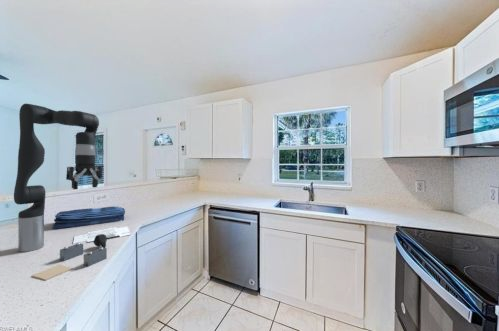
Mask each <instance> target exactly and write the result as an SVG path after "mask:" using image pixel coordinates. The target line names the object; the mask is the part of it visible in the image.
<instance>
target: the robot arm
mask: <svg viewBox="0 0 499 331" xmlns="http://www.w3.org/2000/svg"><path fill="white" fill-rule="evenodd" d="M18 115H19V144H18V155H17V174H16V180H15V185H14V189H13V201H14V203H15V204H16V205H28V204H29V205H30V204H32V205H30V206H29V207H27V208H24V209H23V210H21V211H19V212H18V216H17V217H18V220H17V221H18V227H17V228H18V230H17V232H18V233H17V234H18V235H17V236H18V240H17V243H18V250H17V251H18V252H19V253H24V252H25V253H26V252H31V251H32V252H33V251H35V250H39V249H42V248H43V247H44V245H45V207H46V206H45V204H46V189H45V187H44V185H41V184H38V185H28V183H29V180H30V178H31V177H32V176H33V175H34V174H35V173H36V172H37V171H38V170H39V169H40V167H42V165H43V164H44V162H45V153H46V151H45V150H46V149H45V148H44V146H43V143H41V140H39V138H38V137H37V135H36V133H35V127H34V124H37V125H52V124H58V125H63V126H69V127H73V126H74V127H80V128H85V130H84V131H77V133H76V134H75V149H74V165H75V166H67V167H66V175H65V176H66V177H65V179H66V180H67V181H71V189H73V190H78V189H79V181H78V180H79V179H80V178H81V177H82V176H84V177H85V176H89V177H91V178H92V179H91V180H92V184H91V186H92V188H98V186H99V184H98V183H99V180H100V179H102V178H103V173H102V172H103V171H102V170H103V168H102V166H98V165H97V166H96V146H95V145H96V144H95V143H96V142H95V141H96V140H95V138H96V134H97V132H98V128H99V125H100V121H99V120H100V119H99V118H98V116H97V115H96V114H92V113H88V112H85V111H81V110H64V109H63V110H54V109H51V108H48V107H46V106H40V105H36V104H31V103H24V104H22V105H21V106H20V108H19V114H18ZM74 172H75V173H74Z"/></svg>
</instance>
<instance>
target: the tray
mask: <svg viewBox="0 0 499 331" xmlns="http://www.w3.org/2000/svg"><path fill="white" fill-rule="evenodd" d="M100 234H104V235H106V237H107V239H109V238H113V237H118V236H119V237H120V238H121V237H126V236H129V235H132V233H131V231H130V229H129V226H122V227H116V226H115V227H110V228H105V229H99V230H95V231H89V232H86V234H81V235H75V236H74V237H73V241H72V242H73V243H72V244H73V245H75V244H76V243H80V244H81V243H85V242H86V243H90V242H94V239H95V237H96V236H97V235H100Z"/></svg>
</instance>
